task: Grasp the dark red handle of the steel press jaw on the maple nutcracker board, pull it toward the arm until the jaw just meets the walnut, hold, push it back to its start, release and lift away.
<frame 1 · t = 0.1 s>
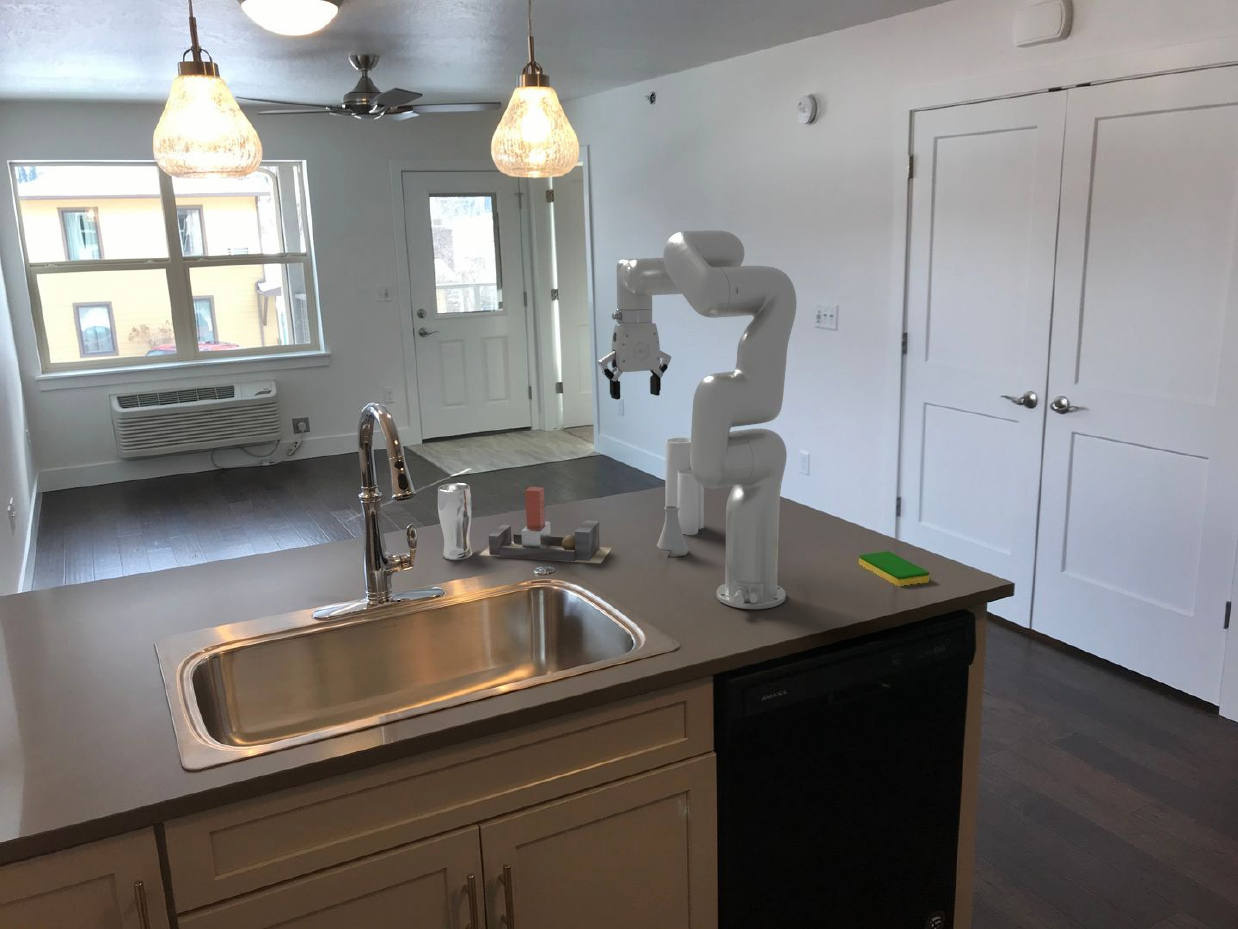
hand: (635, 396, 210), 31 cm above the worktop, tool pointing down, fingers open, 9 cm apart
walnut: (570, 553, 200), point 1 cm above the worktop, touching cracker board
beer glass: (457, 556, 204), on the worktop
dish sponge: (892, 575, 190), on the worktop
flask: (671, 553, 204), on the worktop
vase: (685, 528, 221), on the worktop
press jaw: (535, 519, 200), point 8 cm above the worktop, slide at 0.0 cm
cracker board: (546, 558, 201), on the worktop
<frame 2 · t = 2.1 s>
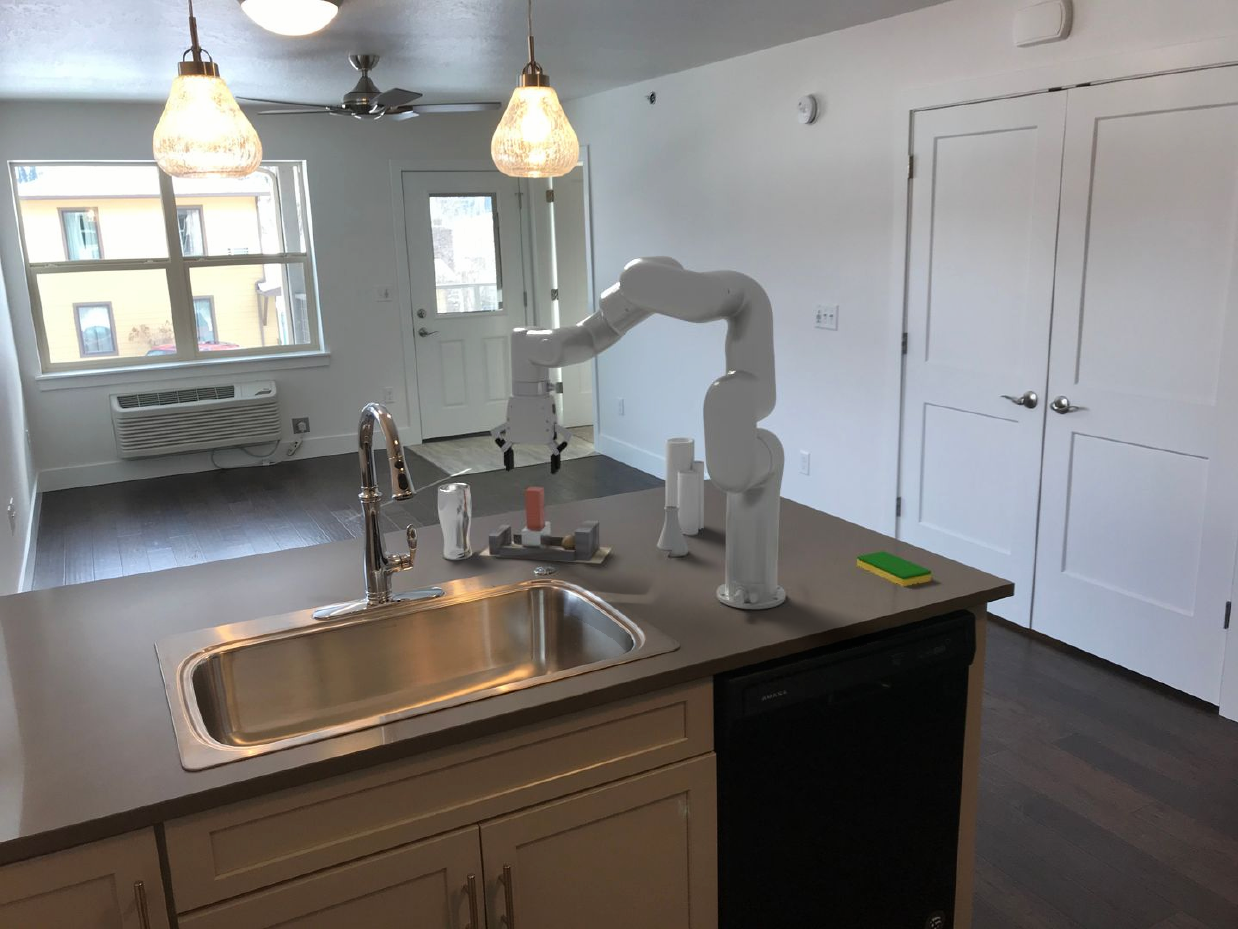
hand: (532, 471, 198), 19 cm above the worktop, tool pointing down, fingers open, 9 cm apart
nothing on the worktop moved.
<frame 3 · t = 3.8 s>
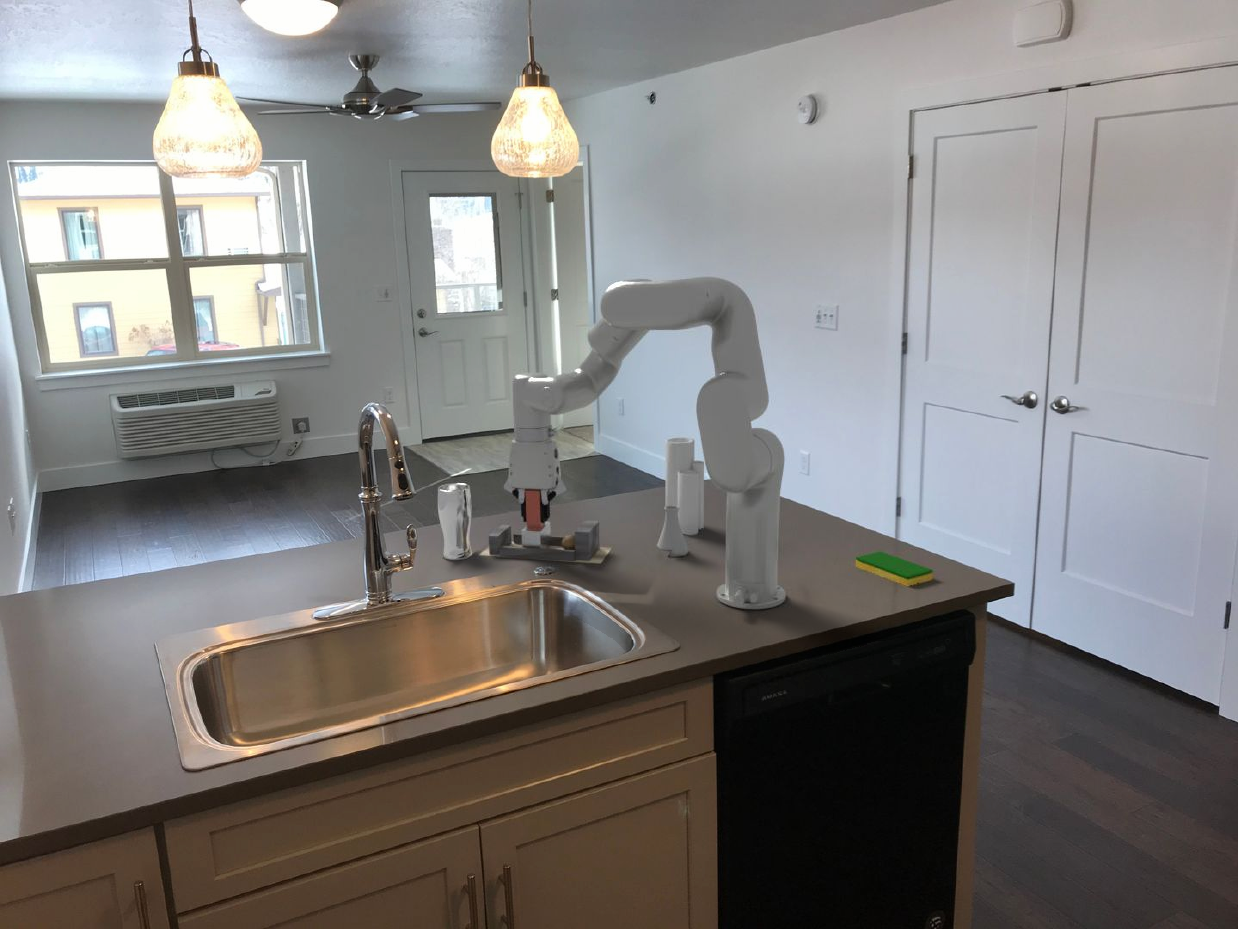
hand: (535, 520, 200), 8 cm above the worktop, tool pointing down, fingers closed on press jaw, 3 cm apart
press jaw: (535, 519, 200), point 8 cm above the worktop, slide at 0.0 cm, touching gripper
everything else where it was.
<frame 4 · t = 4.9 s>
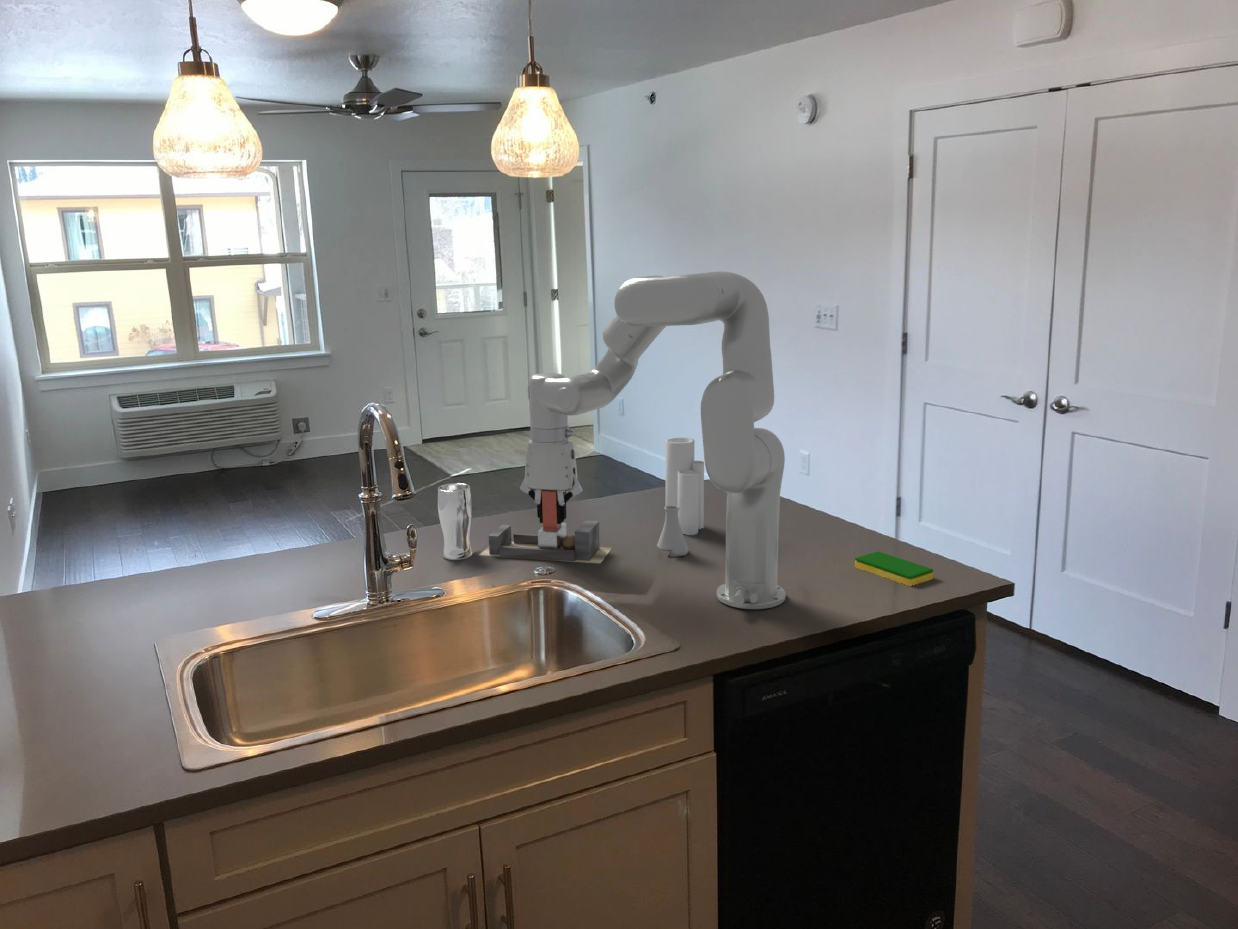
hand: (552, 521, 199), 8 cm above the worktop, tool pointing down, fingers closed on press jaw, 3 cm apart
press jaw: (552, 520, 199), point 8 cm above the worktop, slide at 3.5 cm, touching gripper
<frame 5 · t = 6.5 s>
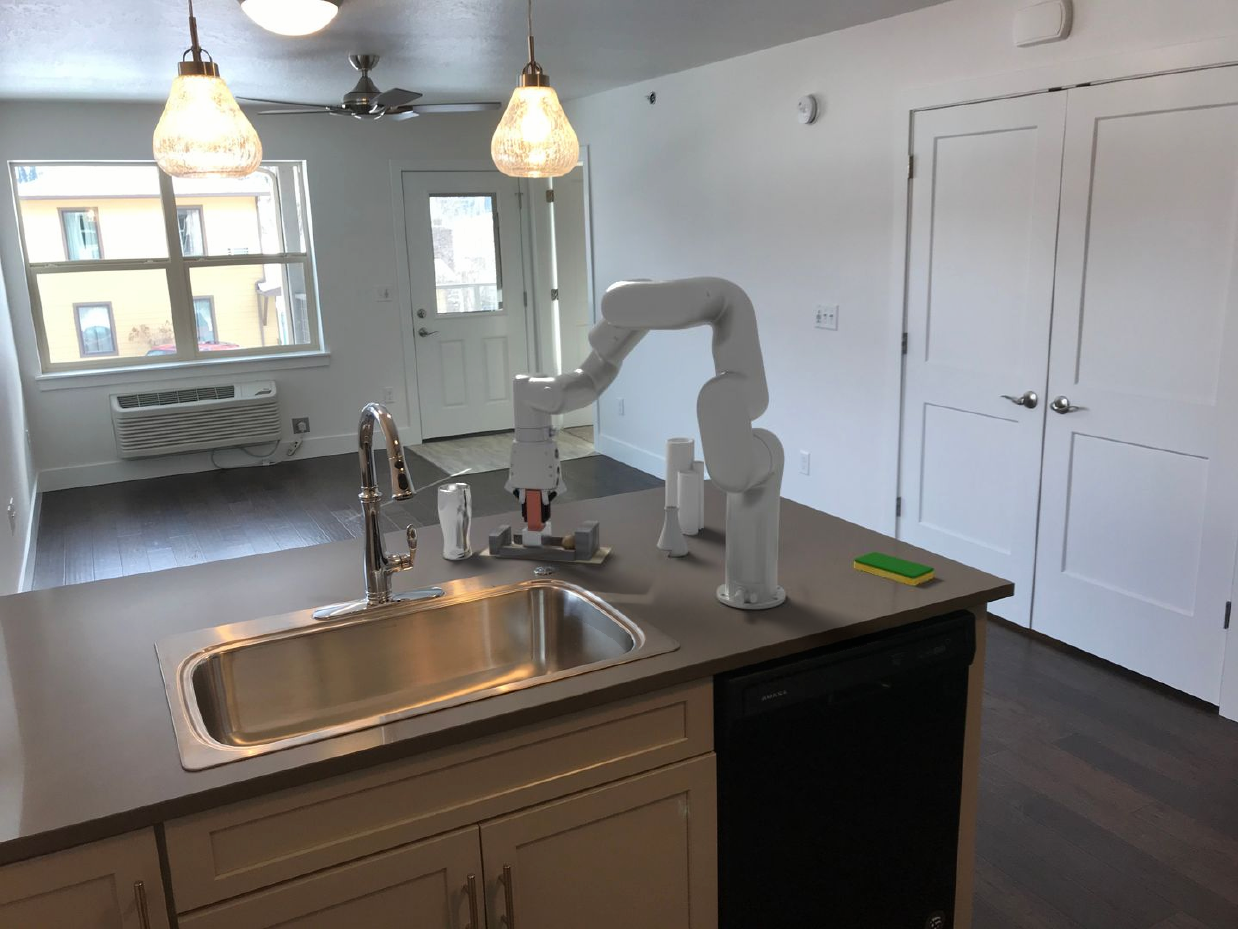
hand: (536, 520, 200), 8 cm above the worktop, tool pointing down, fingers closed on press jaw, 3 cm apart
press jaw: (536, 519, 200), point 8 cm above the worktop, slide at 0.2 cm, touching gripper
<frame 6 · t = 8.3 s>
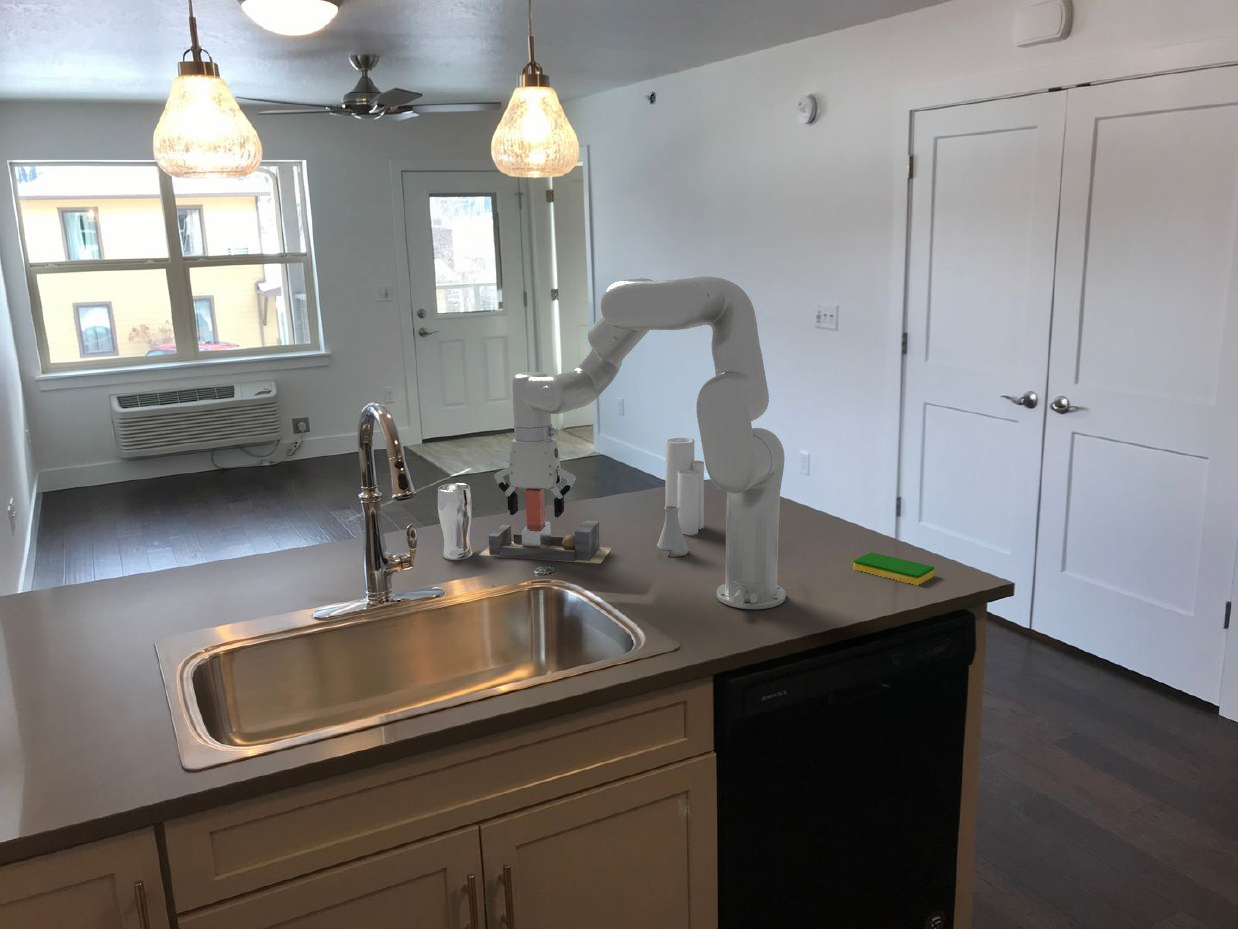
hand: (536, 514, 199), 9 cm above the worktop, tool pointing down, fingers open, 9 cm apart
press jaw: (535, 519, 200), point 8 cm above the worktop, slide at 0.0 cm
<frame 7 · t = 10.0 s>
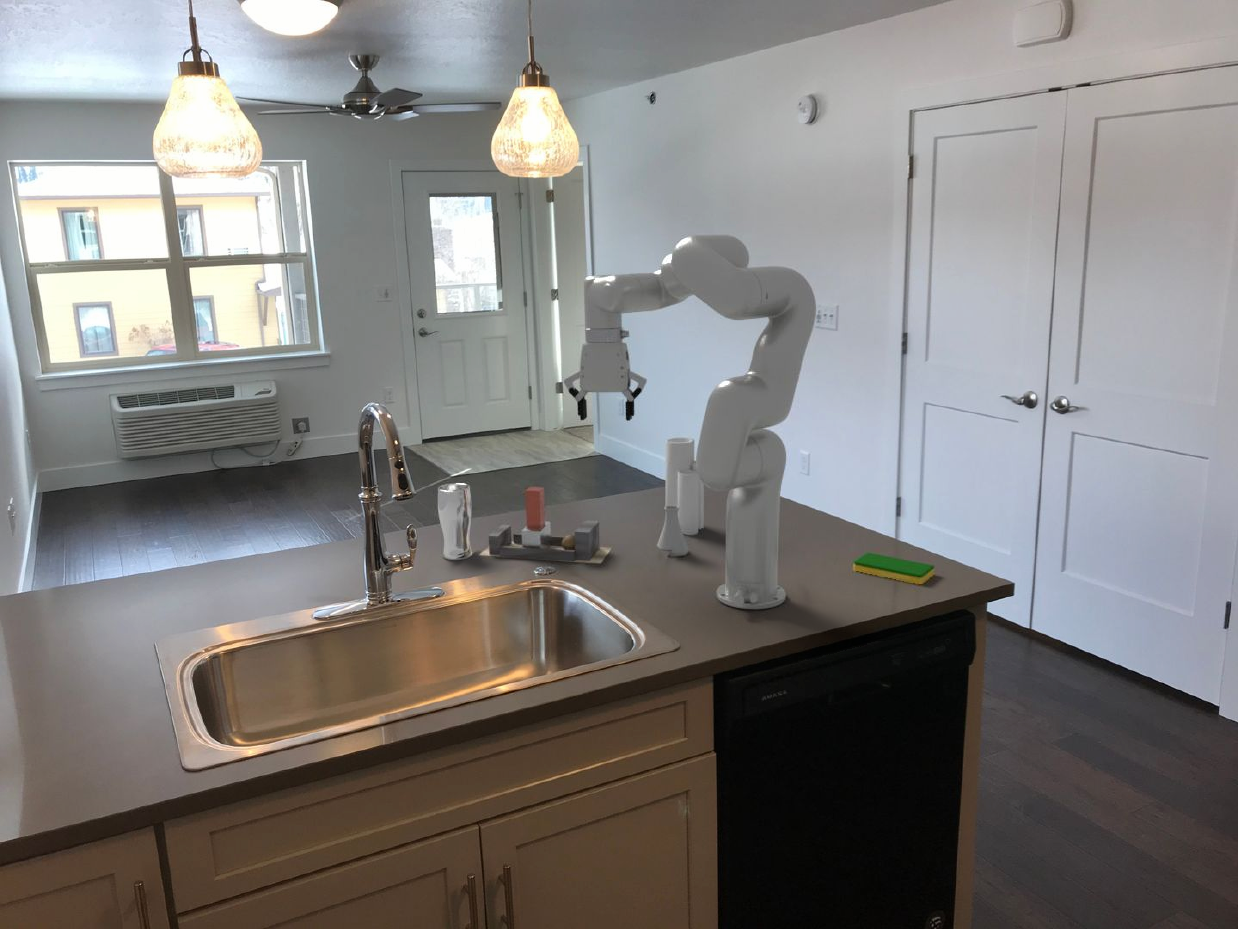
hand: (606, 419, 200), 28 cm above the worktop, tool pointing down, fingers open, 9 cm apart
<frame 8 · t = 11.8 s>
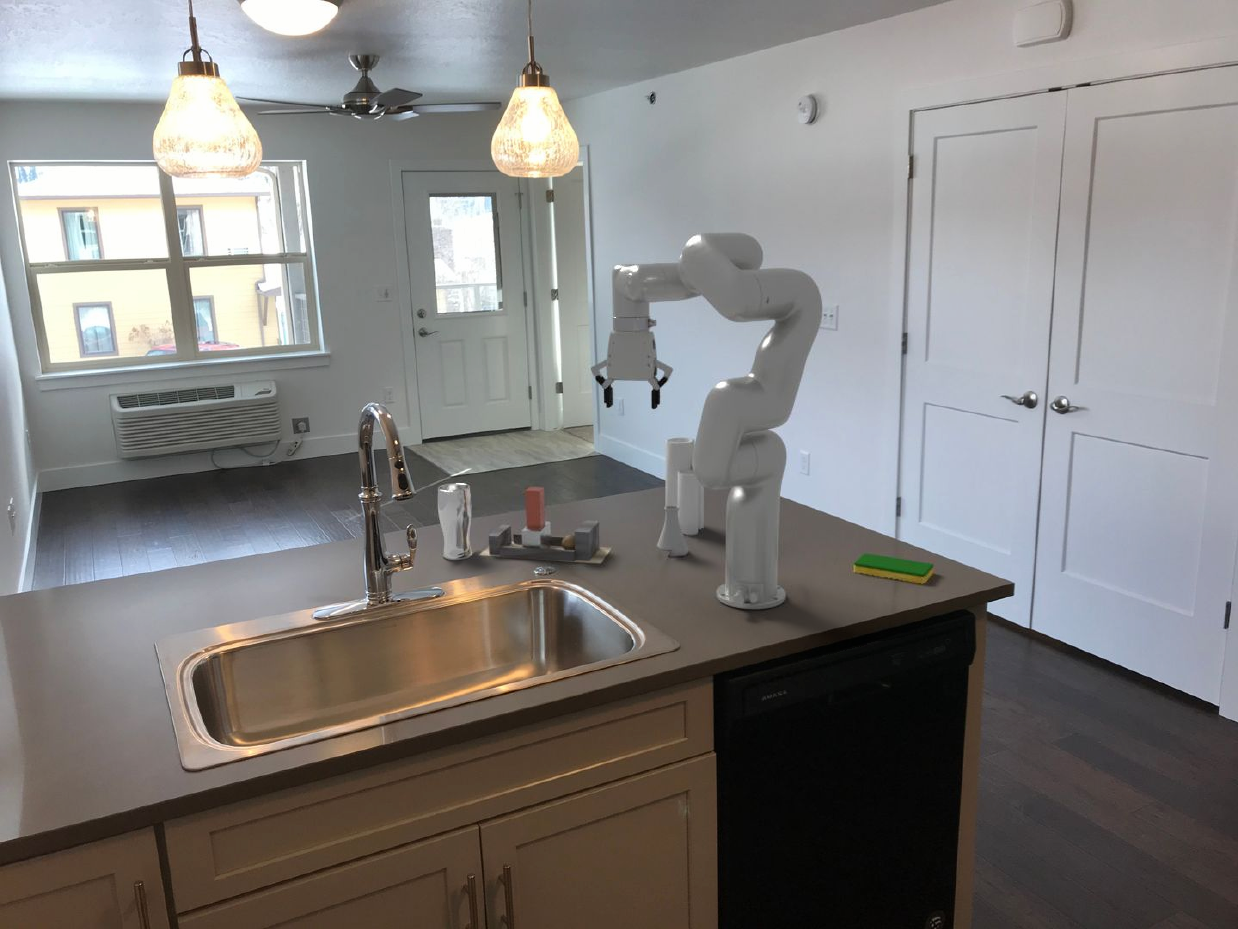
hand: (632, 407, 202), 30 cm above the worktop, tool pointing down, fingers open, 9 cm apart
at the end: press jaw slide at 0.0 cm; walnut moved 0.0 cm from its start; the gripper is holding nothing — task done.
